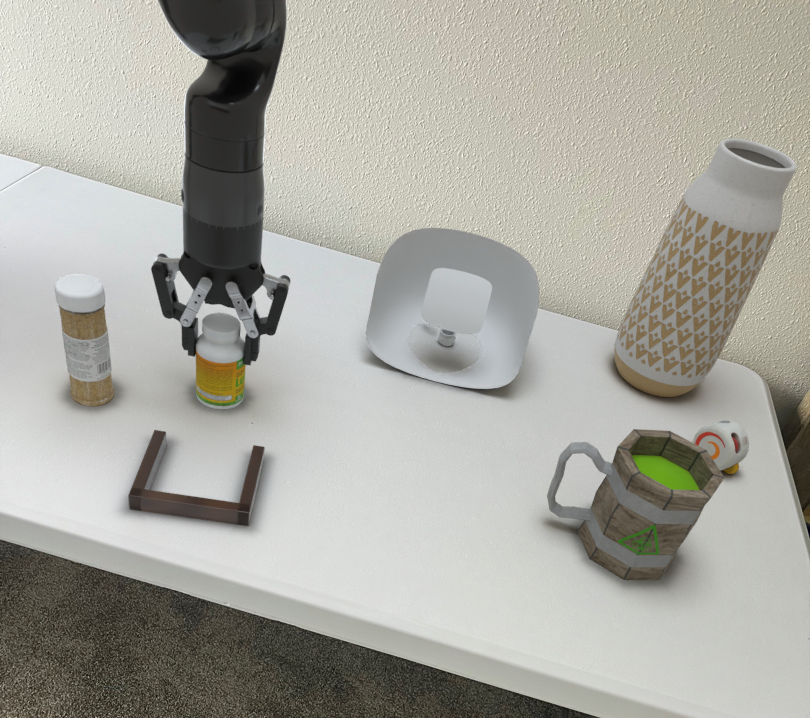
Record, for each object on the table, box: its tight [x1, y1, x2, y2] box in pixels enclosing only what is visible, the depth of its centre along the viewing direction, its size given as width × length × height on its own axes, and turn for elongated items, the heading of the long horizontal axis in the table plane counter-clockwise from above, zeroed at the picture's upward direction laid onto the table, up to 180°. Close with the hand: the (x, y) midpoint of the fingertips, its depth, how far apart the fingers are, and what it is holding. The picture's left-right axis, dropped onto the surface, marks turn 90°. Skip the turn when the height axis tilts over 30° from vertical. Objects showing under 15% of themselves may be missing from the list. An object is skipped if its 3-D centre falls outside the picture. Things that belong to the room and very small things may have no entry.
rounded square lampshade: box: [365, 227, 540, 390], centre depth 103 cm, size 20×19×12 cm
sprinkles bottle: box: [53, 273, 115, 407], centre depth 81 cm, size 5×5×13 cm
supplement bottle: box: [195, 312, 247, 410], centre depth 86 cm, size 5×5×10 cm
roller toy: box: [691, 419, 750, 475], centre depth 97 cm, size 4×6×6 cm
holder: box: [127, 429, 266, 527], centre depth 79 cm, size 11×10×2 cm
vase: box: [613, 137, 797, 398], centre depth 100 cm, size 14×14×31 cm
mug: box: [546, 428, 725, 581], centre depth 81 cm, size 16×11×12 cm
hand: (220, 356), depth 86 cm, fingers closed on supplement bottle, 5 cm apart
